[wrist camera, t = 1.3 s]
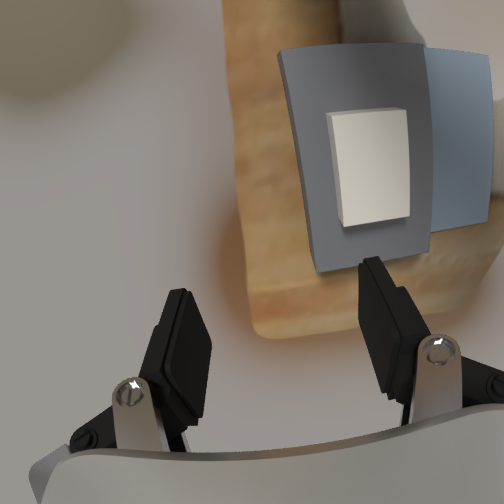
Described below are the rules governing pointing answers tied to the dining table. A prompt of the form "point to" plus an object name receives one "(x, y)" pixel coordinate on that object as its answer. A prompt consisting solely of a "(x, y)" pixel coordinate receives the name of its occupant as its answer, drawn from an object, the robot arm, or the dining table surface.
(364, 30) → the dining table surface
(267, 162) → the dining table surface
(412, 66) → the panel
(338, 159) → the tile
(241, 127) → the dining table surface
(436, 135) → the mat
